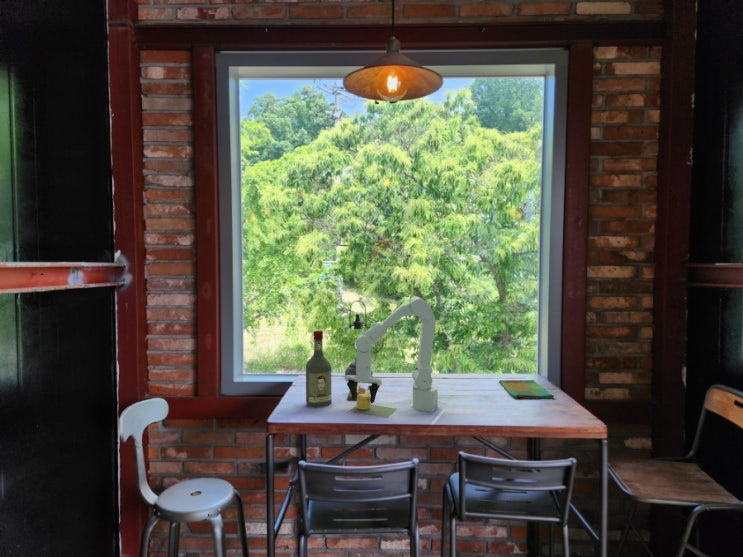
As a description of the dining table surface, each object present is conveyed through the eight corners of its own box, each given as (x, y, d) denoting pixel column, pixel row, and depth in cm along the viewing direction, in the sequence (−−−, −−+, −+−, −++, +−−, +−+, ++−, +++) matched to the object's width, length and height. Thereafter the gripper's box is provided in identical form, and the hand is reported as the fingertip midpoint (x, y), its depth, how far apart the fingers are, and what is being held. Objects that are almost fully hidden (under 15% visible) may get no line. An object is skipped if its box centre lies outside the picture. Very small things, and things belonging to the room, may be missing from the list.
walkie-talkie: (368, 405, 175) (371, 389, 195) (368, 394, 174) (371, 379, 194) (346, 404, 175) (352, 388, 195) (346, 394, 175) (352, 379, 195)
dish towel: (513, 400, 180) (513, 394, 180) (497, 383, 204) (497, 378, 204) (555, 401, 180) (555, 395, 180) (534, 383, 204) (534, 378, 203)
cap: (372, 406, 168) (372, 394, 168) (366, 410, 164) (366, 398, 164) (360, 404, 171) (360, 392, 170) (354, 408, 166) (354, 396, 166)
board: (397, 411, 167) (397, 408, 167) (387, 420, 158) (387, 417, 158) (360, 405, 174) (359, 402, 173) (348, 413, 164) (348, 411, 164)
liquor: (305, 402, 176) (304, 330, 174) (326, 400, 179) (326, 328, 177) (310, 410, 168) (309, 334, 166) (332, 407, 171) (332, 332, 169)
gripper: (341, 366, 166) (342, 401, 166) (376, 371, 160) (376, 407, 160) (350, 362, 172) (350, 395, 173) (384, 366, 166) (383, 401, 167)
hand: (363, 401), depth 167 cm, fingers open, 7 cm apart
